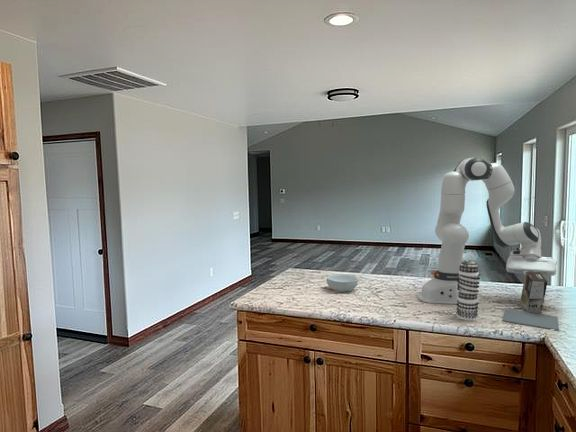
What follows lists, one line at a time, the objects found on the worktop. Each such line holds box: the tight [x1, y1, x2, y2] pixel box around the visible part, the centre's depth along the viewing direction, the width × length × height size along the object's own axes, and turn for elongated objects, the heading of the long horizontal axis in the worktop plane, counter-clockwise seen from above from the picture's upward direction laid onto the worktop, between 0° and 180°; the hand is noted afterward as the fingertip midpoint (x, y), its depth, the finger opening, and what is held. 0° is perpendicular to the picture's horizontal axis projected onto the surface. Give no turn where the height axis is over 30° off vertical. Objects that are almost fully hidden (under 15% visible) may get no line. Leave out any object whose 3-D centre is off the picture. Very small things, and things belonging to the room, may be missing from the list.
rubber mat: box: [501, 308, 560, 331], centre depth 170 cm, size 18×20×1 cm
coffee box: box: [520, 272, 548, 314], centre depth 181 cm, size 9×6×16 cm
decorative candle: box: [455, 259, 481, 321], centre depth 172 cm, size 9×9×25 cm
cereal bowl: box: [326, 273, 359, 293], centre depth 216 cm, size 17×17×7 cm
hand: (530, 280), depth 184 cm, fingers closed
